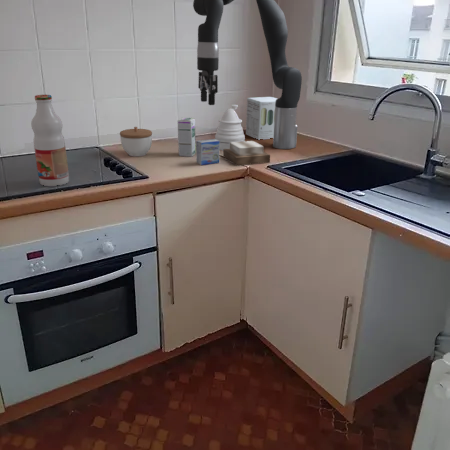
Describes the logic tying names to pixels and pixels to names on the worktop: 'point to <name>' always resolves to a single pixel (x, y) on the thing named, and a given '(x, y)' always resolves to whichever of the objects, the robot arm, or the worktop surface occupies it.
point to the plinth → (246, 158)
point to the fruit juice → (49, 144)
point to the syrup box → (186, 137)
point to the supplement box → (260, 117)
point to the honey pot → (229, 129)
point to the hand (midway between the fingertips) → (207, 103)
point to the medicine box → (207, 151)
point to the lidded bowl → (136, 141)
